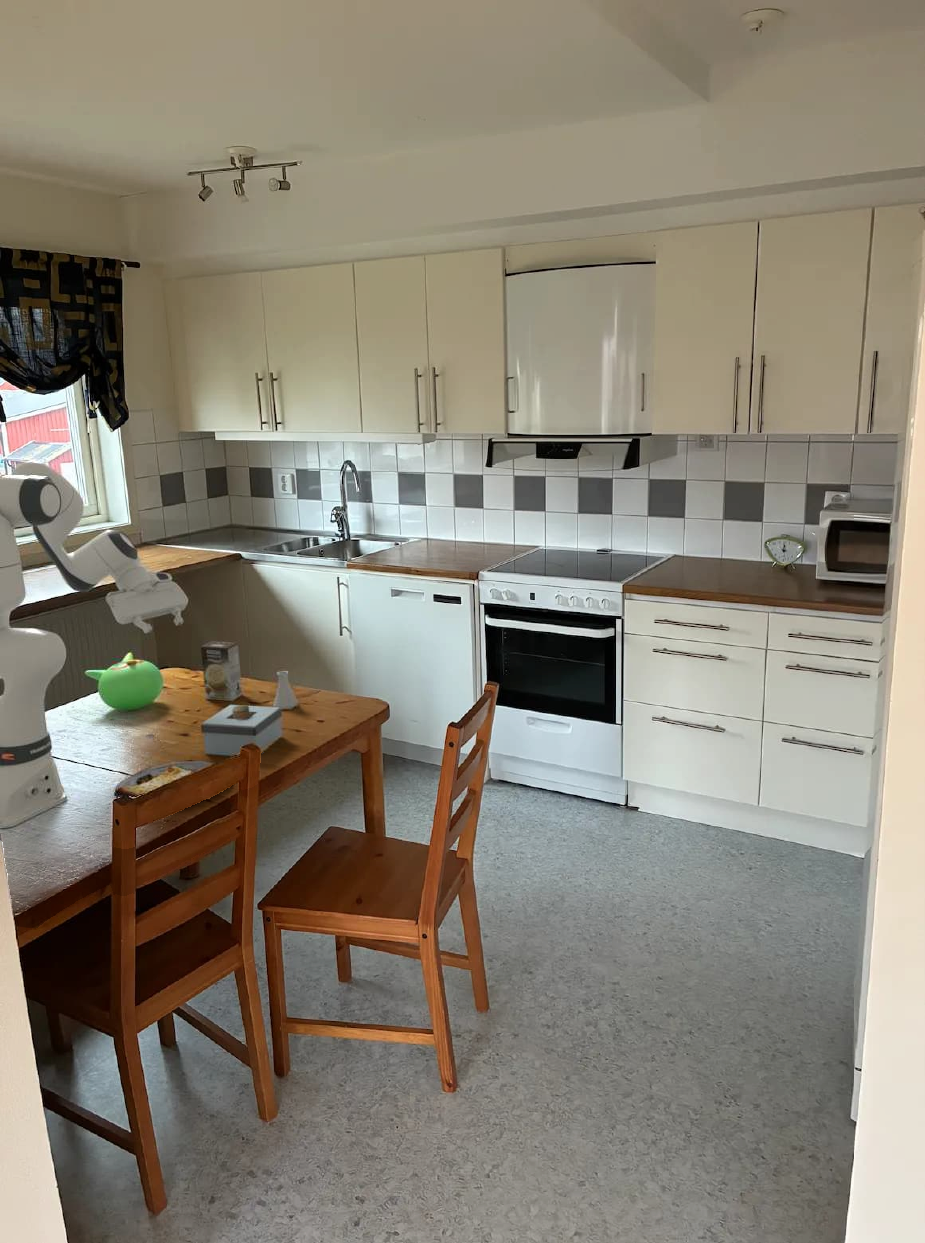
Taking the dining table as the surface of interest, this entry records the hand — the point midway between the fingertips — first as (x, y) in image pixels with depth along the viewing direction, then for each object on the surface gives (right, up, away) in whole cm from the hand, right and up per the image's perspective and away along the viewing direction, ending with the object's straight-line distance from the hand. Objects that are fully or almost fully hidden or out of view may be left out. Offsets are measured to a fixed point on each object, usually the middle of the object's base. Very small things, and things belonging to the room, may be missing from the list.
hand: (164, 627), depth 243 cm
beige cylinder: (+22, -30, -6) cm, 37 cm away
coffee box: (+7, -21, +34) cm, 40 cm away
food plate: (+12, -37, -31) cm, 49 cm away
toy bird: (-18, -23, +27) cm, 40 cm away
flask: (+27, -23, +23) cm, 42 cm away
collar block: (+22, -30, -5) cm, 37 cm away
